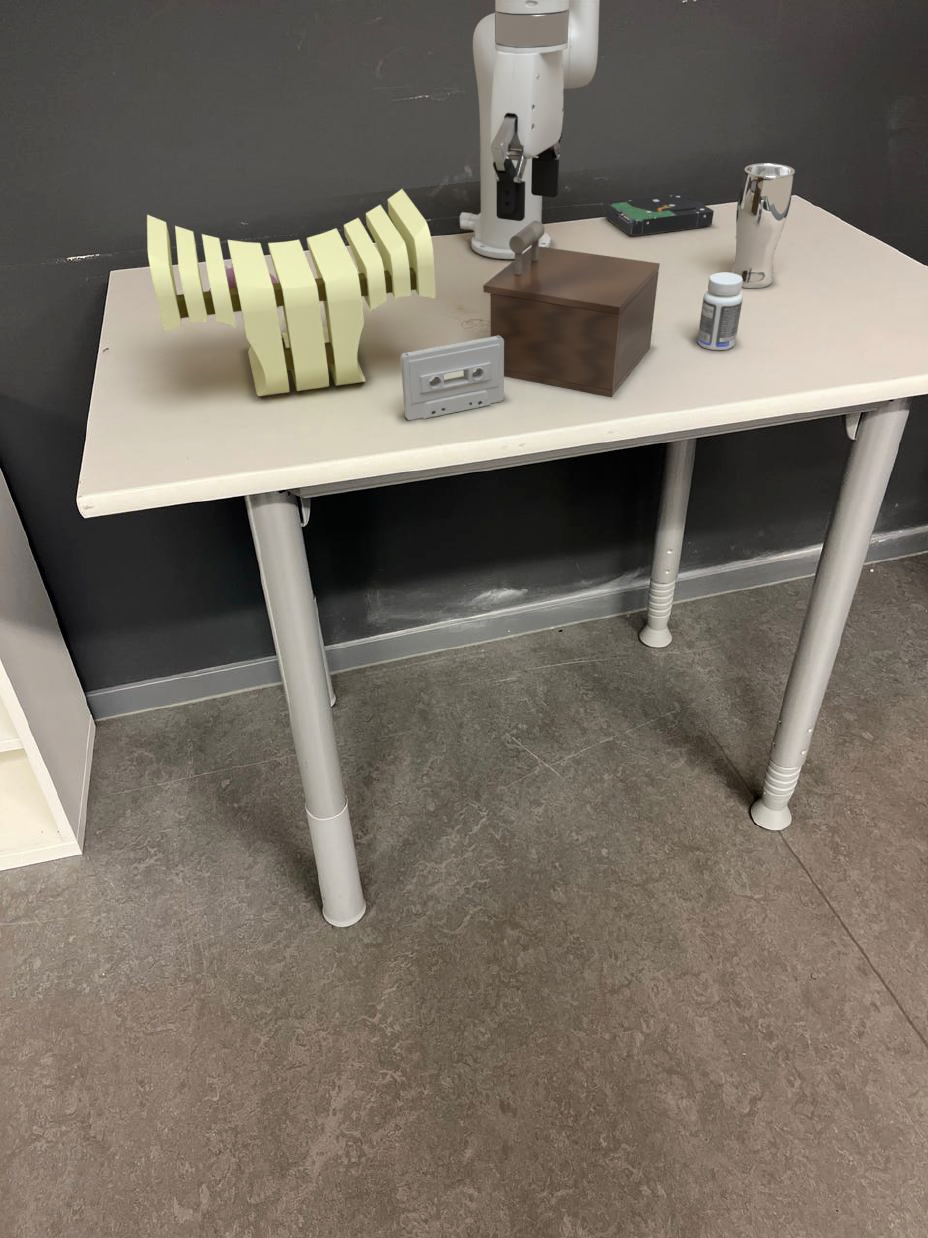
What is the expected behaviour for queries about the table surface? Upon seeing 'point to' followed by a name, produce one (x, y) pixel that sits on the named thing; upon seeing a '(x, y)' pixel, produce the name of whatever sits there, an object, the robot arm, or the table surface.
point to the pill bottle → (720, 311)
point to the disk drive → (659, 214)
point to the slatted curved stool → (298, 291)
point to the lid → (569, 275)
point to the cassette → (454, 392)
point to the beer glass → (761, 220)
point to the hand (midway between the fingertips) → (528, 206)
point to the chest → (573, 341)
